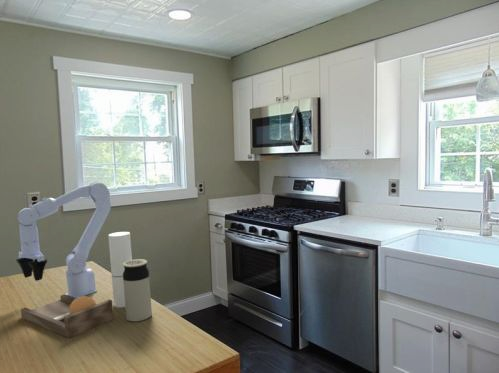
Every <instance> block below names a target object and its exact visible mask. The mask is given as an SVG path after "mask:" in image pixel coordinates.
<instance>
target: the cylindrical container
mask: <svg viewBox="0 0 499 373" xmlns="http://www.w3.org/2000/svg"><path fill="white" fill-rule="evenodd" d="M107 236H108V246H109V247H108V248H109V249H108V250H109V258H110V272H111V284H112V286H111V287H112V295H113V297H112V298H113V306H114V307H115V308H125V296H124V283H123V272H124V270H125V268H124V266H123V263H124V262H126V261H130V260H133V256H132V255H133V254H132V240H131V232H130V231H118V232H117V231H116V232H112V233H109V234H108V235H107Z"/></svg>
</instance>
